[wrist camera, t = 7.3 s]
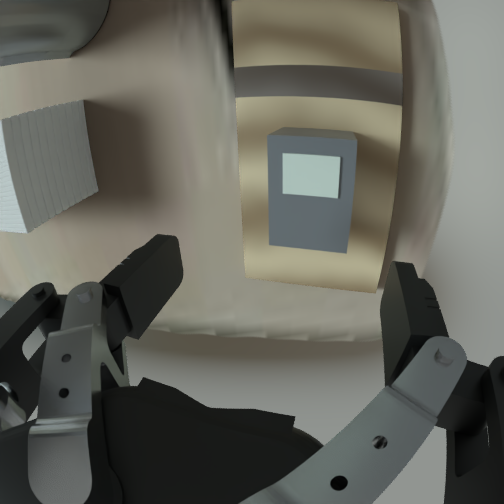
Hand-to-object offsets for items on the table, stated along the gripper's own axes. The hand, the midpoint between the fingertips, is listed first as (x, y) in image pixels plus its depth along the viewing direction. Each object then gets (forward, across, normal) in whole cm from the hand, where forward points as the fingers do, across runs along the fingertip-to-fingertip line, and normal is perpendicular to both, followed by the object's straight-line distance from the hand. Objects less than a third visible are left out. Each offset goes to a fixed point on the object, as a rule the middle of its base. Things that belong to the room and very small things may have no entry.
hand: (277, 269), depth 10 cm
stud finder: (+12, 0, 0) cm, 13 cm away
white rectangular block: (+15, +39, -2) cm, 42 cm away
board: (+14, 0, -2) cm, 14 cm away
